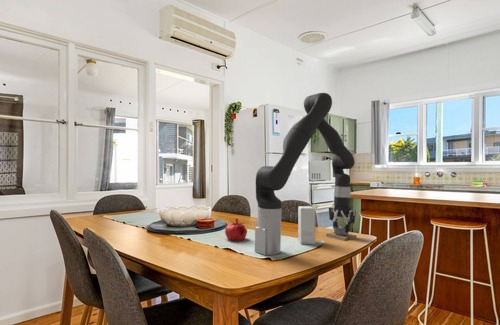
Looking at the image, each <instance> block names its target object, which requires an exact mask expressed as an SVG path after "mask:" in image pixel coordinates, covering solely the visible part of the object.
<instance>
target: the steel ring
mask: <svg viewBox="0 0 500 325" xmlns="http://www.w3.org/2000/svg"><path fill="white" fill-rule="evenodd" d="M339 226H340V225H338V226H334V228H333V230H334V231H333V232H334V233H335V234H339V235H347V234H350V231H349V232H348V233H347V232H346V228H345V225H342V226H343V227H344V228H339Z"/></svg>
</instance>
